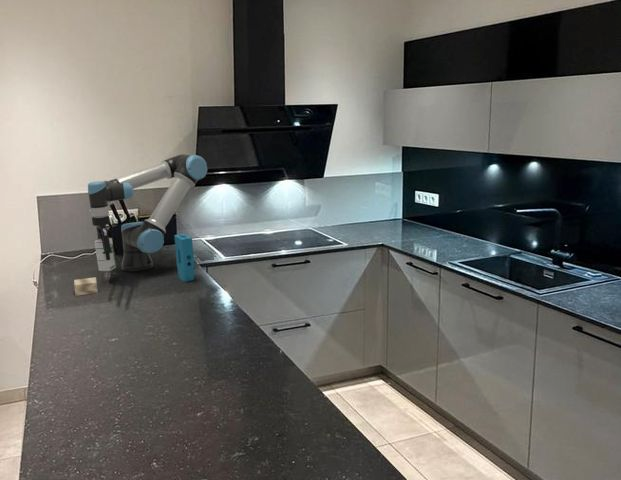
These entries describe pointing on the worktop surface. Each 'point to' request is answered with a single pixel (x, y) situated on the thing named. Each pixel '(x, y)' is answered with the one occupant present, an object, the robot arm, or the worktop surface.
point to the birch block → (85, 286)
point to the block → (184, 257)
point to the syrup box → (101, 256)
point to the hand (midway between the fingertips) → (106, 264)
